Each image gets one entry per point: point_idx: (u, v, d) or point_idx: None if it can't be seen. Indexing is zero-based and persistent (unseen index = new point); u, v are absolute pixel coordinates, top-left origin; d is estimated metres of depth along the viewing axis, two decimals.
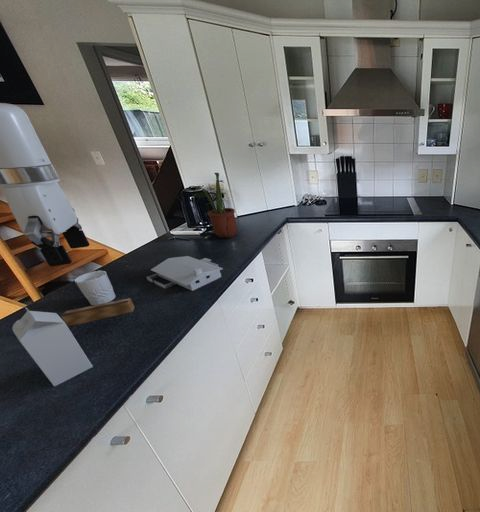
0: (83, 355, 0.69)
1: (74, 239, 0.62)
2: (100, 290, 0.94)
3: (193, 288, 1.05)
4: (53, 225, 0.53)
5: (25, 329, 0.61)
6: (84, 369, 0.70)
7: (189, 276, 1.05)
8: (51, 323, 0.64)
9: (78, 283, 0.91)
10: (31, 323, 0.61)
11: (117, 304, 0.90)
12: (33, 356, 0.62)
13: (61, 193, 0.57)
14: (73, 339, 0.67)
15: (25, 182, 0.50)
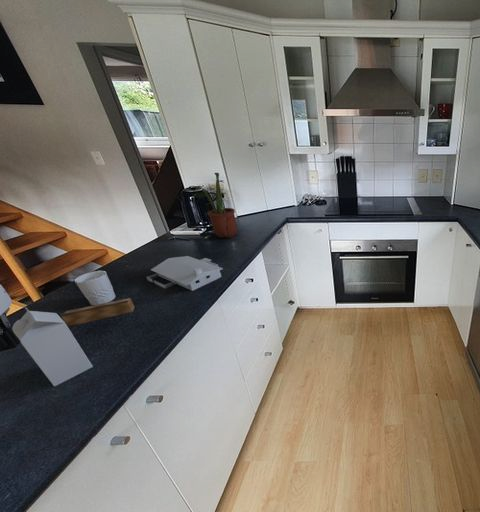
0: (83, 355, 0.69)
1: None
2: (100, 290, 0.94)
3: (193, 288, 1.05)
4: None
5: (25, 329, 0.61)
6: (84, 369, 0.70)
7: (189, 276, 1.05)
8: (51, 323, 0.64)
9: (78, 283, 0.91)
10: (31, 323, 0.61)
11: (117, 304, 0.90)
12: (33, 356, 0.62)
13: None
14: (73, 339, 0.67)
15: None
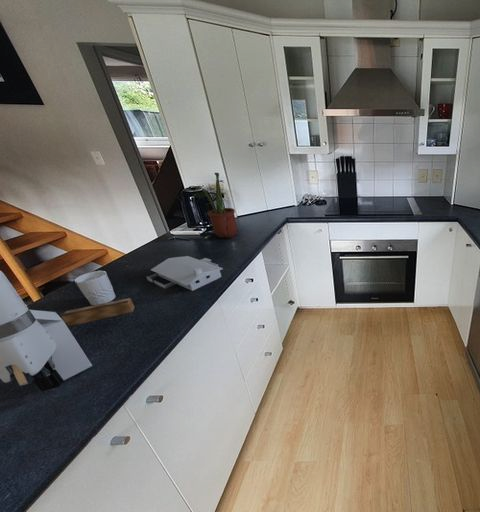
0: (82, 353, 0.69)
1: None
2: (100, 290, 0.94)
3: (193, 288, 1.05)
4: (30, 369, 0.57)
5: None
6: (83, 368, 0.70)
7: (189, 276, 1.05)
8: (49, 321, 0.64)
9: (78, 283, 0.91)
10: None
11: (117, 304, 0.90)
12: None
13: (39, 330, 0.60)
14: (72, 337, 0.67)
15: (2, 337, 0.54)
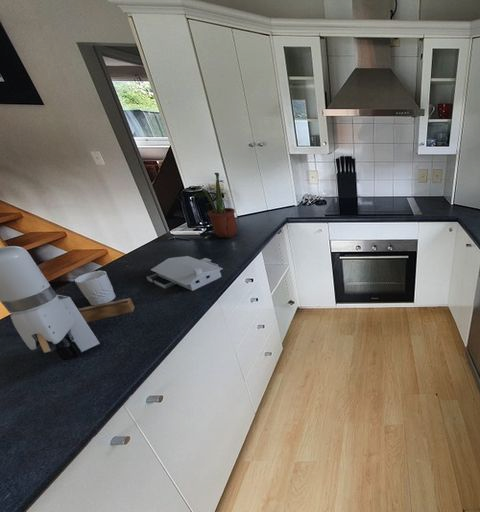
0: (89, 330, 0.75)
1: None
2: (100, 290, 0.94)
3: (193, 288, 1.05)
4: (52, 338, 0.64)
5: None
6: (91, 345, 0.75)
7: (189, 276, 1.05)
8: None
9: (78, 283, 0.91)
10: None
11: (117, 304, 0.90)
12: None
13: (59, 305, 0.68)
14: (78, 314, 0.73)
15: (28, 308, 0.61)
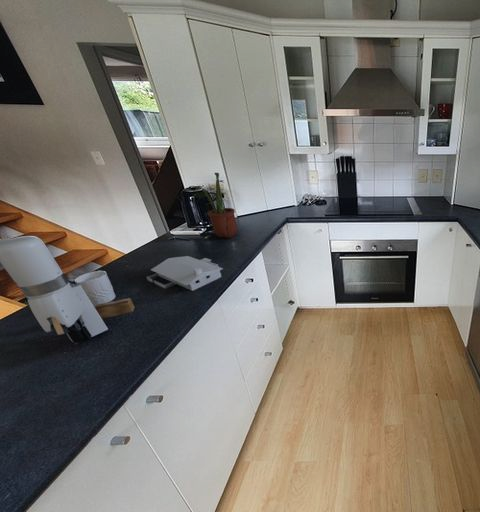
0: (98, 317, 0.80)
1: None
2: (100, 290, 0.94)
3: (193, 288, 1.05)
4: (65, 321, 0.69)
5: None
6: (100, 330, 0.80)
7: (189, 276, 1.05)
8: None
9: (78, 283, 0.91)
10: None
11: (117, 304, 0.90)
12: None
13: (71, 291, 0.73)
14: (88, 301, 0.78)
15: (44, 293, 0.66)
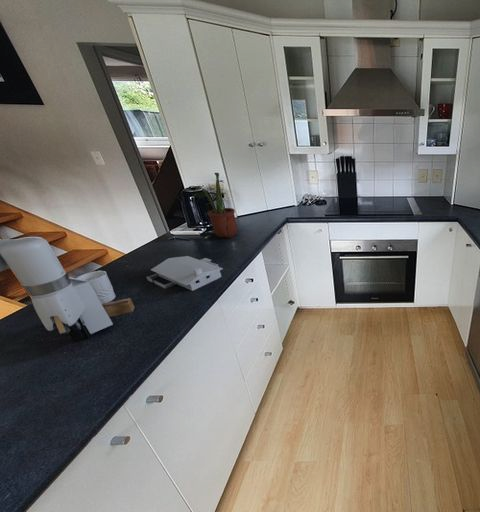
0: (104, 312, 0.83)
1: None
2: (100, 290, 0.94)
3: (193, 288, 1.05)
4: (68, 320, 0.71)
5: None
6: (106, 325, 0.83)
7: (189, 276, 1.05)
8: (78, 282, 0.79)
9: None
10: None
11: (117, 304, 0.90)
12: None
13: (73, 291, 0.74)
14: (95, 297, 0.81)
15: (47, 293, 0.67)
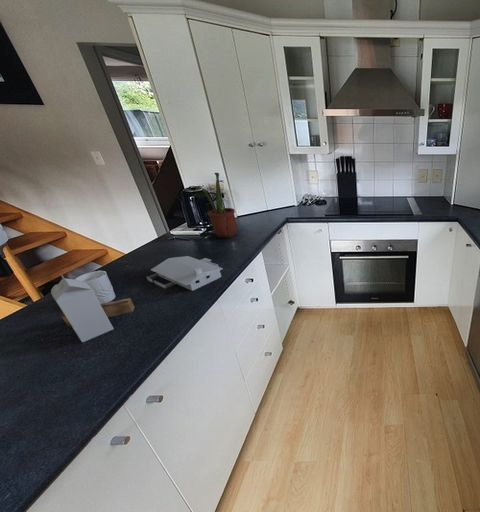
0: (106, 318, 0.82)
1: None
2: (100, 290, 0.94)
3: (193, 288, 1.05)
4: None
5: (60, 292, 0.74)
6: (106, 330, 0.83)
7: (189, 276, 1.05)
8: (81, 289, 0.77)
9: None
10: (65, 287, 0.74)
11: (117, 304, 0.90)
12: (66, 315, 0.75)
13: None
14: (98, 304, 0.80)
15: None
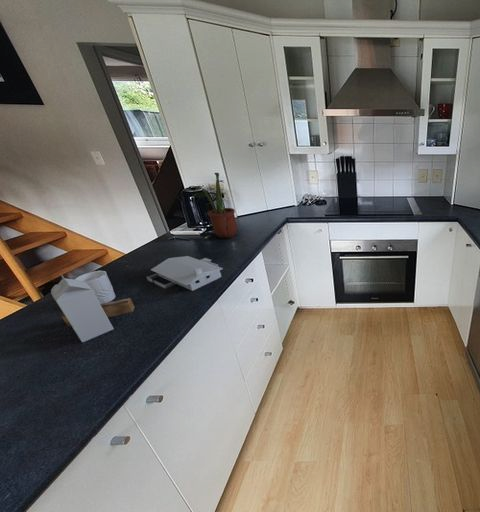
0: (106, 318, 0.82)
1: None
2: (100, 290, 0.94)
3: (193, 288, 1.05)
4: None
5: (60, 292, 0.74)
6: (106, 330, 0.83)
7: (189, 276, 1.05)
8: (81, 289, 0.77)
9: None
10: (65, 287, 0.74)
11: (117, 304, 0.90)
12: (66, 315, 0.75)
13: None
14: (98, 304, 0.80)
15: None
